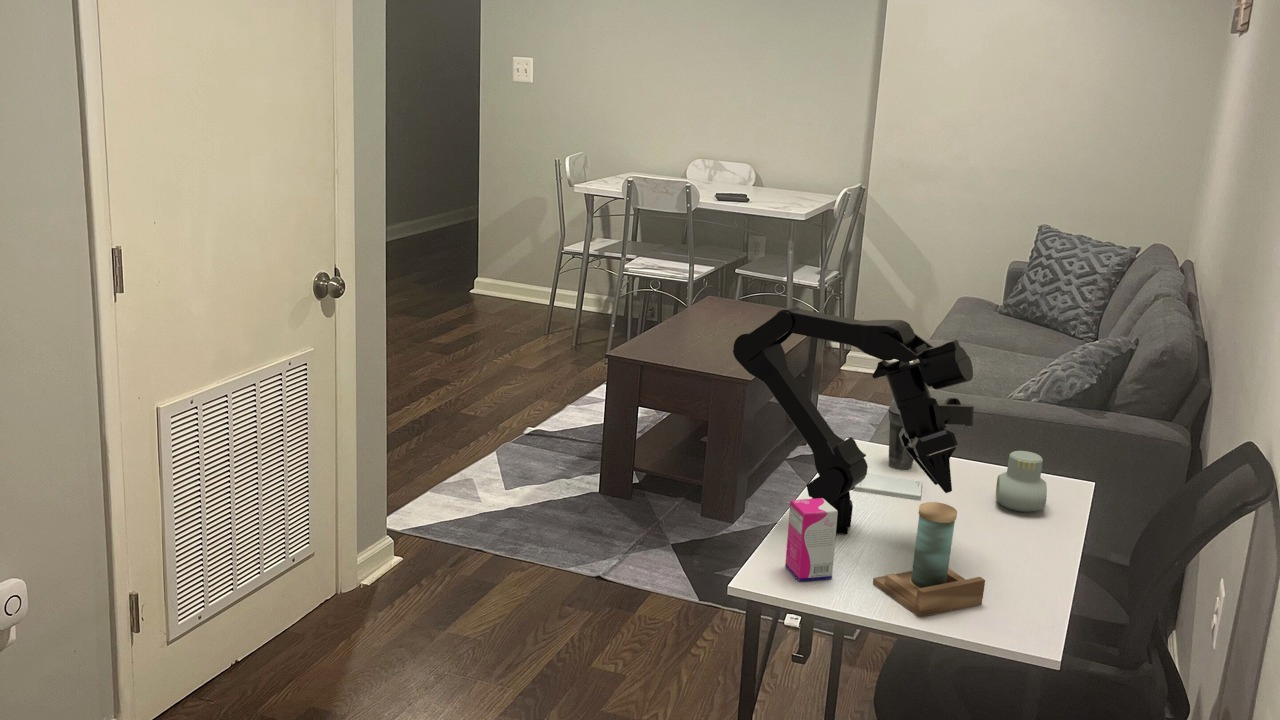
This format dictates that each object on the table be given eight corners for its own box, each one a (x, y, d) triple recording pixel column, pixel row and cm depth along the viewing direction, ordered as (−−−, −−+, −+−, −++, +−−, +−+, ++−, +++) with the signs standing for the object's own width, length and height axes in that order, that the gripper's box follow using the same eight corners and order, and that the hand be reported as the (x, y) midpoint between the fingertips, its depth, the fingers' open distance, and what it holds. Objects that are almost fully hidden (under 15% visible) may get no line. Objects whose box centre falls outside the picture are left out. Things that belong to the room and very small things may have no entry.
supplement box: (817, 563, 178) (824, 496, 175) (832, 579, 172) (839, 511, 169) (783, 565, 176) (789, 498, 173) (798, 582, 171) (804, 513, 168)
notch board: (872, 583, 172) (875, 560, 171) (933, 572, 177) (936, 549, 176) (919, 617, 162) (922, 592, 161) (981, 604, 167) (985, 580, 166)
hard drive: (922, 480, 213) (857, 470, 216) (921, 495, 206) (853, 485, 209) (921, 488, 214) (856, 478, 217) (920, 503, 206) (852, 493, 209)
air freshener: (1044, 520, 200) (1052, 468, 197) (996, 513, 202) (1004, 462, 199) (1039, 499, 210) (1047, 449, 207) (994, 492, 212) (1001, 443, 209)
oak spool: (905, 590, 168) (915, 511, 164) (914, 576, 173) (924, 499, 169) (941, 600, 165) (952, 519, 162) (949, 585, 170) (960, 507, 167)
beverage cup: (874, 464, 223) (885, 369, 218) (894, 457, 228) (906, 363, 223) (905, 475, 218) (917, 378, 213) (925, 467, 223) (937, 372, 218)
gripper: (972, 383, 169) (1005, 480, 169) (949, 378, 187) (979, 465, 187) (902, 406, 170) (935, 503, 170) (885, 399, 188) (915, 485, 188)
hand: (943, 487), depth 179 cm, fingers open, 9 cm apart
